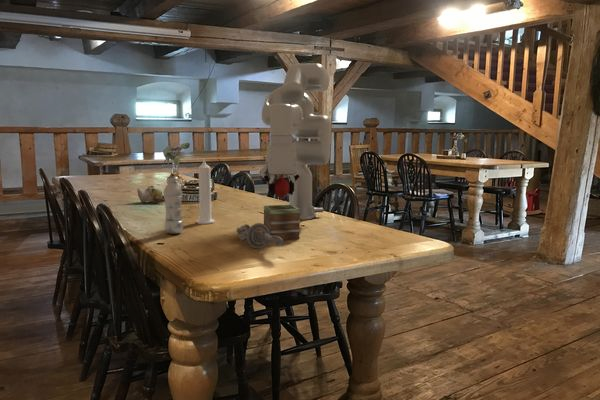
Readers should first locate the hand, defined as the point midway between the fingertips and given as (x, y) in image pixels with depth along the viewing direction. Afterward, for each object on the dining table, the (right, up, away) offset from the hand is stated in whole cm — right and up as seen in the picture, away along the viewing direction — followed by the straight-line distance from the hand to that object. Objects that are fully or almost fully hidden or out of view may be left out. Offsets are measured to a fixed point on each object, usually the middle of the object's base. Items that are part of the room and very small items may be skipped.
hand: (281, 194), depth 169 cm
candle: (-31, -11, +26) cm, 42 cm away
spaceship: (-6, -17, -14) cm, 23 cm away
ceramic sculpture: (-65, -4, +73) cm, 98 cm away
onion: (0, -2, 0) cm, 2 cm away
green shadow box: (0, -15, +2) cm, 15 cm away
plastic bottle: (-38, -14, +6) cm, 41 cm away
